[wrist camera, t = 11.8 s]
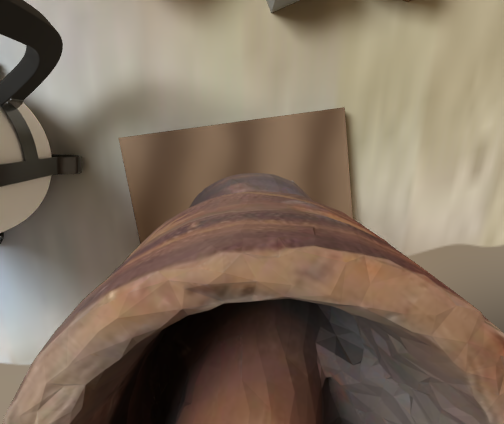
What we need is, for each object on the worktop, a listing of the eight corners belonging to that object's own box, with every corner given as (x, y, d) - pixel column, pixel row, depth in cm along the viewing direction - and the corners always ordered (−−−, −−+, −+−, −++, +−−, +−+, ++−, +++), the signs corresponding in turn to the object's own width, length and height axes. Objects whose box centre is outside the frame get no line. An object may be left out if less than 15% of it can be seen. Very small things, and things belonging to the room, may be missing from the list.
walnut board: (339, 108, 31) (344, 107, 29) (353, 285, 34) (358, 292, 33) (124, 137, 30) (118, 138, 29) (160, 313, 34) (156, 321, 32)
